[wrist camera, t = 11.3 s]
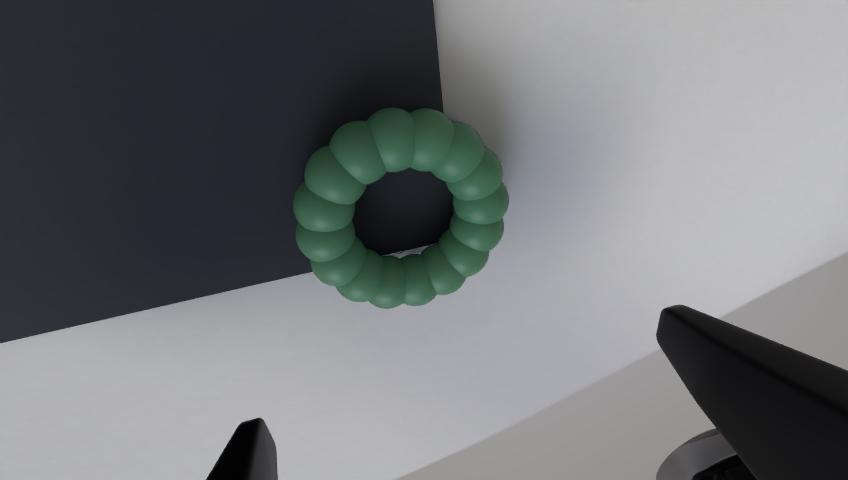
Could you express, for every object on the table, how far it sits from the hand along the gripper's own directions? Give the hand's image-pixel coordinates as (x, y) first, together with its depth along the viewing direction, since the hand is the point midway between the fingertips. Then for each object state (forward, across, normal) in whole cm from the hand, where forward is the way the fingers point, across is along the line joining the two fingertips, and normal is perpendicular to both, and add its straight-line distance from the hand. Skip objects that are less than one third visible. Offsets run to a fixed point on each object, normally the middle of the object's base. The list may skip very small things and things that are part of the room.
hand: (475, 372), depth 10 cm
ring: (+8, 0, 0) cm, 8 cm away
